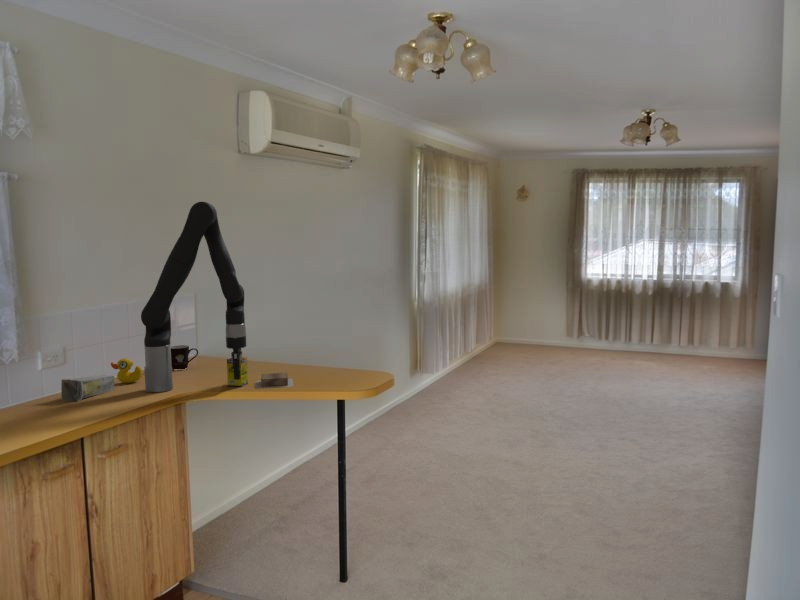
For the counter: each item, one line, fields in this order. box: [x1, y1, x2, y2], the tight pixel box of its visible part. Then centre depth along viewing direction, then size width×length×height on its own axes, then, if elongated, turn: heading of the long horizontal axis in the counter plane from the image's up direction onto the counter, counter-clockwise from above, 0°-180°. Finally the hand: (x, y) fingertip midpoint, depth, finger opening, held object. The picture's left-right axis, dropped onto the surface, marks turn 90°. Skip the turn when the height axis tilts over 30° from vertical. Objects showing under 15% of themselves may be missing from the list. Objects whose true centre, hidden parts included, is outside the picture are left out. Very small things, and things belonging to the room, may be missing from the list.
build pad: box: [255, 378, 294, 390], centre depth 248 cm, size 14×14×1 cm
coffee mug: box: [171, 344, 199, 369], centre depth 280 cm, size 12×9×10 cm
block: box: [61, 374, 115, 403], centre depth 236 cm, size 19×8×8 cm, turn 158°
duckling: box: [110, 358, 143, 384], centre depth 254 cm, size 11×5×10 cm, turn 109°
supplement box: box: [226, 356, 249, 388], centre depth 246 cm, size 6×6×11 cm
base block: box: [260, 372, 289, 387], centre depth 248 cm, size 10×10×3 cm
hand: (237, 377), depth 246 cm, fingers closed on supplement box, 7 cm apart
